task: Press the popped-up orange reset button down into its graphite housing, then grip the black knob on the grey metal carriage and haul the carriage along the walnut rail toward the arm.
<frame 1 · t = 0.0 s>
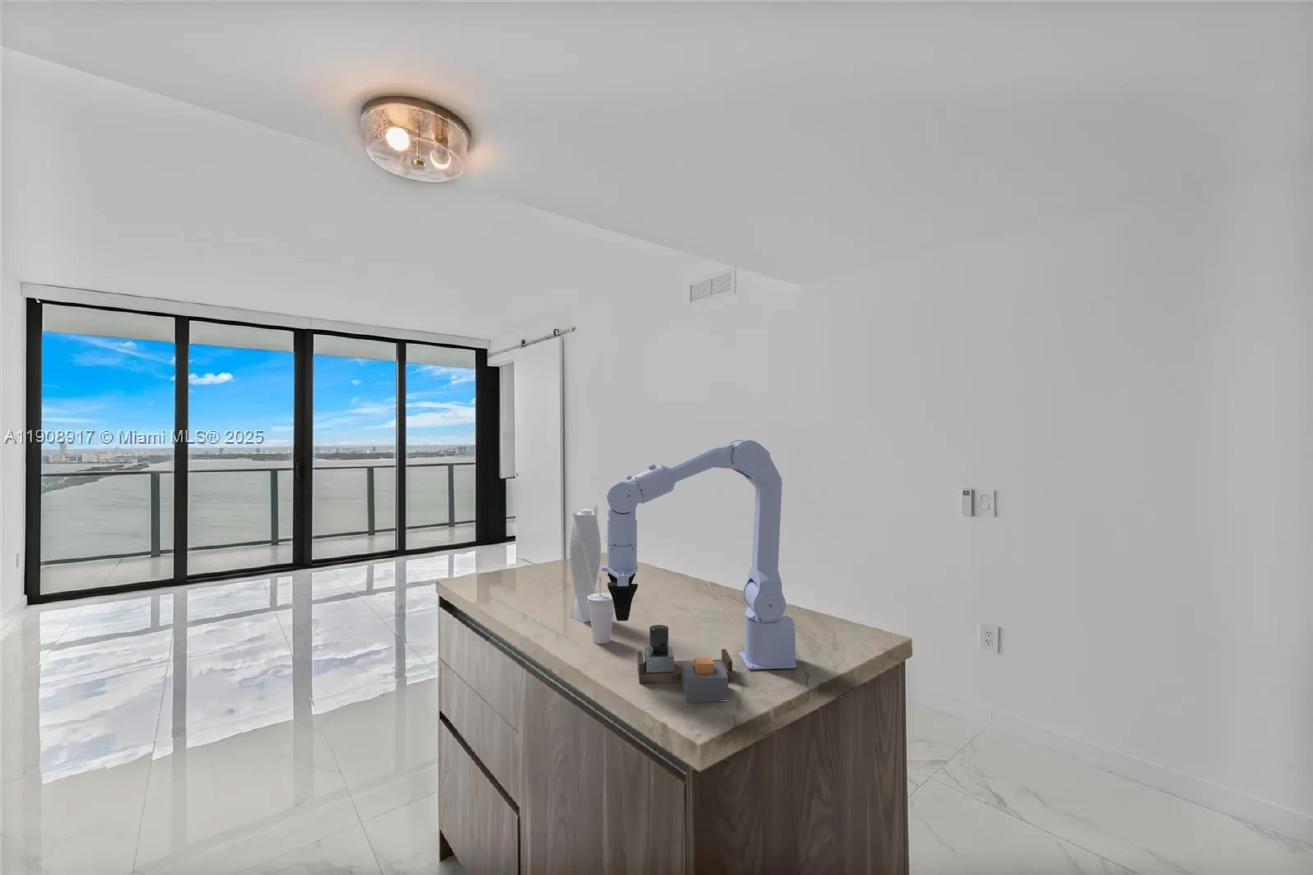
hand: (621, 614, 110), 10 cm above the table, tool pointing down, fingers open, 7 cm apart
skyscraper: (585, 618, 140), on the table
carriage: (659, 647, 106), point 5 cm above the table, slide at 0.0 cm
rail: (683, 675, 106), on the table
reset button: (704, 670, 99), point 4 cm above the table, slide at 0.0 cm
smoothie: (601, 641, 124), on the table
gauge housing: (703, 692, 99), on the table
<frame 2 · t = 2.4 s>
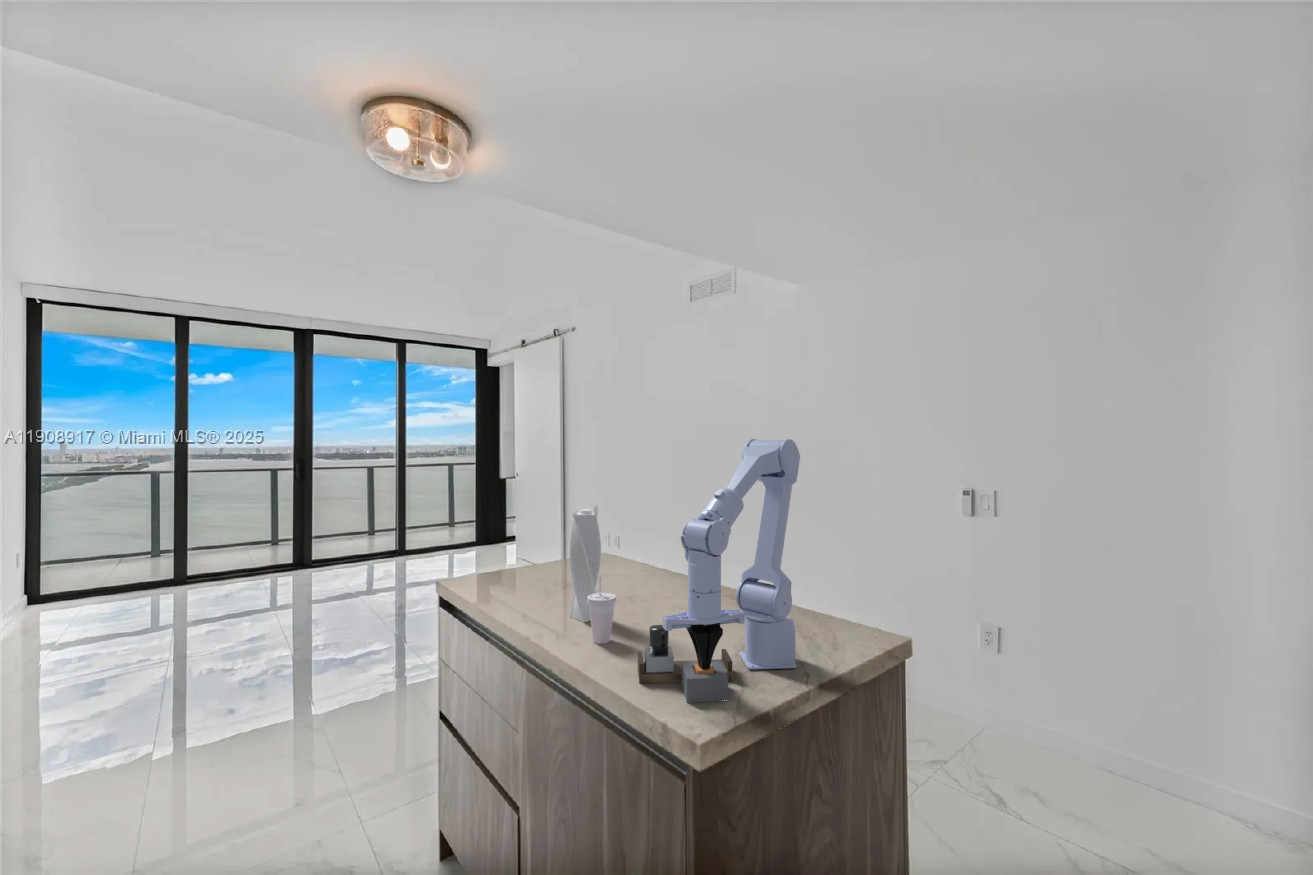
hand: (703, 667, 99), 4 cm above the table, tool pointing down, fingers closed, pressing on reset button
reset button: (704, 677, 99), point 3 cm above the table, slide at -1.1 cm, touching gripper
everything else where it was.
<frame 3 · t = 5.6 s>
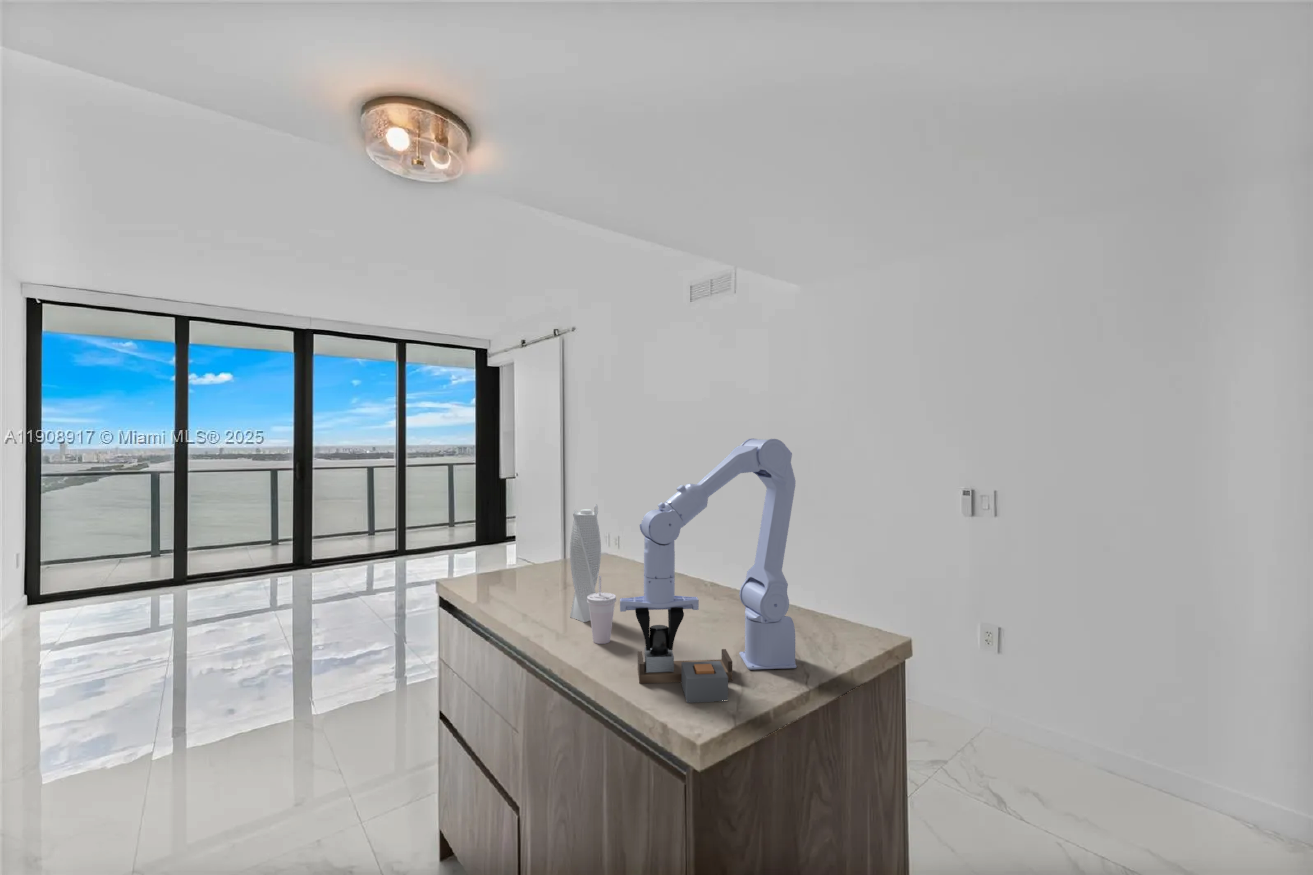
hand: (659, 648, 106), 5 cm above the table, tool pointing down, fingers closed on carriage, 3 cm apart
carriage: (658, 647, 106), point 5 cm above the table, slide at 0.0 cm, touching gripper
reset button: (704, 677, 99), point 3 cm above the table, slide at -1.2 cm
everything else where it was.
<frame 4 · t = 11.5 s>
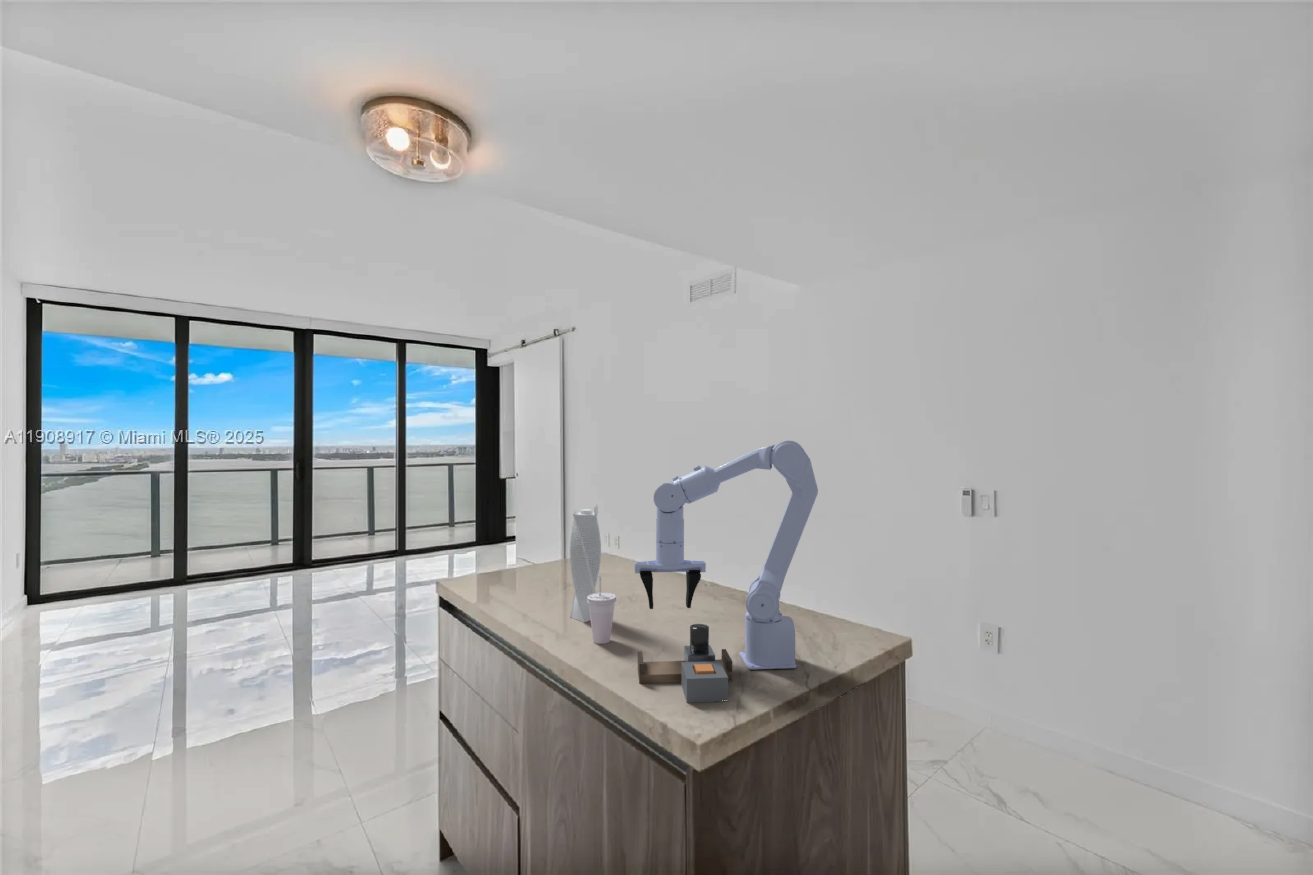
hand: (669, 607, 117), 9 cm above the table, tool pointing down, fingers open, 7 cm apart
carriage: (699, 646, 107), point 5 cm above the table, slide at 7.6 cm
everything else where it was.
at the end: reset button slide at -1.2 cm; carriage slide at 7.6 cm; the gripper is holding nothing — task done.
